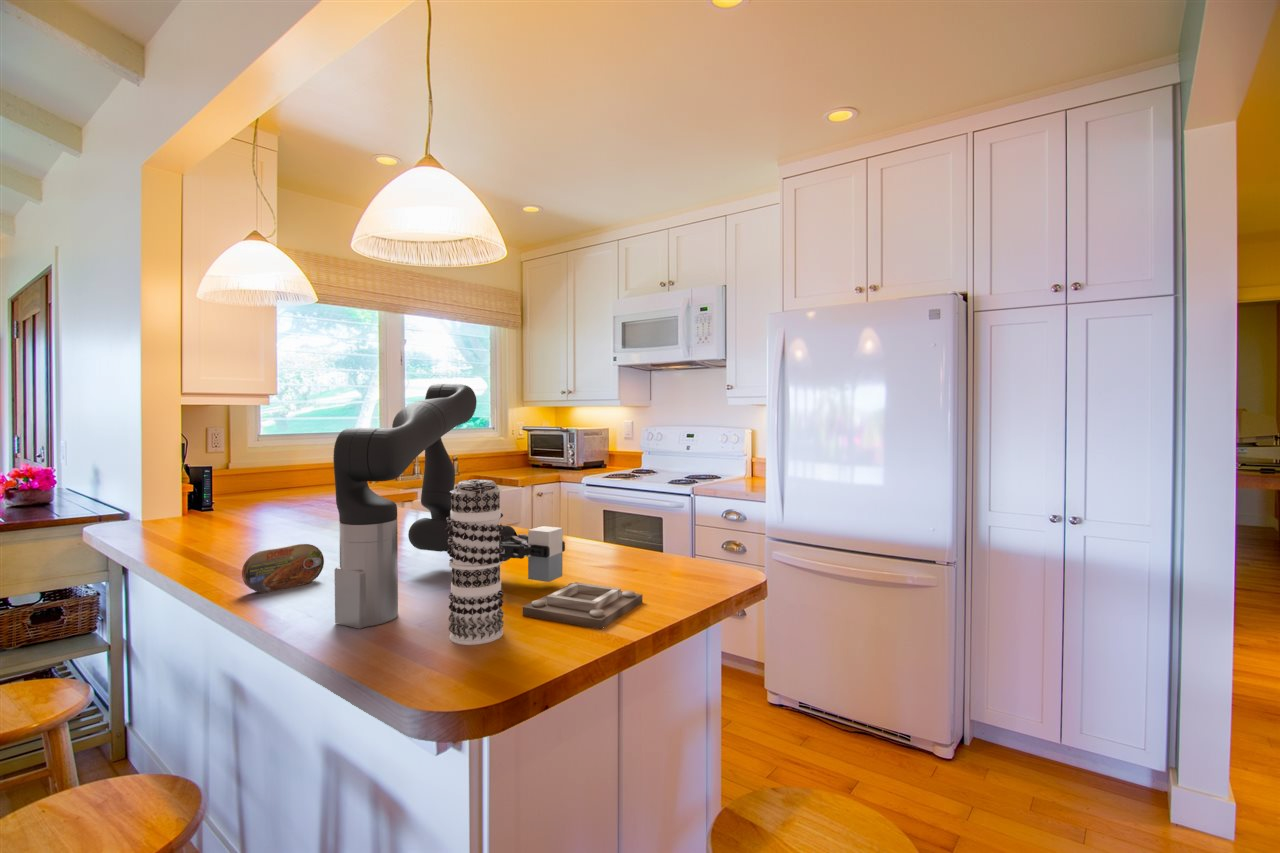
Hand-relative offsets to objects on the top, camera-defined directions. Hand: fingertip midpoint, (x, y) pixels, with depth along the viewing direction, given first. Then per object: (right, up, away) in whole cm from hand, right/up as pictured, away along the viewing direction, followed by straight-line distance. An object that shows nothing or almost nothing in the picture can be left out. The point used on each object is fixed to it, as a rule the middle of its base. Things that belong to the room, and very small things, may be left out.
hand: (556, 549), depth 123 cm
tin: (-56, -8, +2) cm, 57 cm away
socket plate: (+7, -8, -12) cm, 16 cm away
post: (-2, -6, +1) cm, 7 cm away
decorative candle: (-9, -9, -25) cm, 28 cm away
